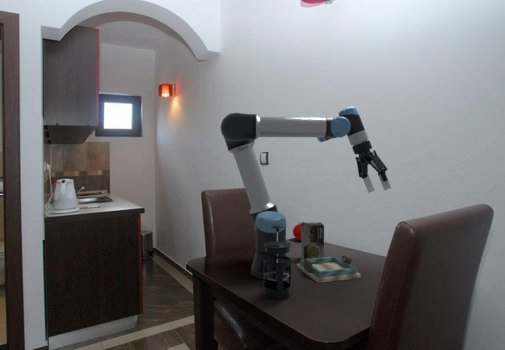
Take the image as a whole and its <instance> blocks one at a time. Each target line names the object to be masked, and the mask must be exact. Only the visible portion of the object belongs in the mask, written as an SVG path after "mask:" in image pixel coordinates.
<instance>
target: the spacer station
mask: <svg viewBox="0 0 505 350" xmlns="http://www.w3.org/2000/svg"><path fill="white" fill-rule="evenodd" d="M296 268H297V269H298V270H299V271H300V272H302V273H303V274H305V276H307V277H309V278H310V279H311V280H313V281H315V282H316V284H321V283H330V282H337V281H346V280H347V281H348V280H356V279H357V280H358V279H361V278H362V275H361V273H359V272H358V268H357V267H356V266H353V265H352V258H351V257H348V256H346V255H343V254H342V255H341V259H340V258H339V257H337V256H324V258H313V259H302V258H301V259H300V261H299V263H296Z"/></svg>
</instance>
